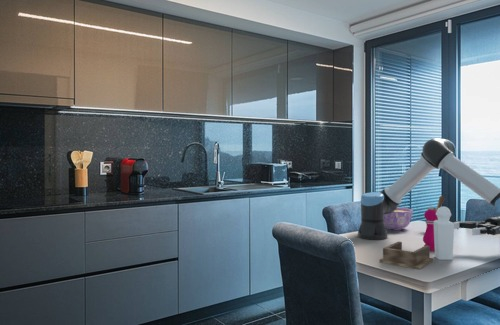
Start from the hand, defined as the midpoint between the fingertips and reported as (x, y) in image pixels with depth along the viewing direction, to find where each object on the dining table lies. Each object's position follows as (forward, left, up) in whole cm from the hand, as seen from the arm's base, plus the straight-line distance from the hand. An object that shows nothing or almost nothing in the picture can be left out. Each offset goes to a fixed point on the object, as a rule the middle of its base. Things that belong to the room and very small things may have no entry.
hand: (459, 229), depth 169 cm
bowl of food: (-46, +45, -12) cm, 66 cm away
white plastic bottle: (-4, -7, -12) cm, 15 cm away
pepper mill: (-13, +6, -12) cm, 19 cm away
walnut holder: (-14, -22, -12) cm, 29 cm away
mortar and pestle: (-25, +53, -12) cm, 60 cm away
